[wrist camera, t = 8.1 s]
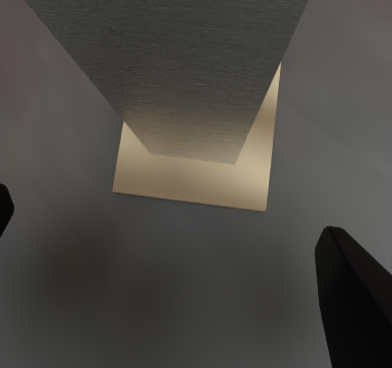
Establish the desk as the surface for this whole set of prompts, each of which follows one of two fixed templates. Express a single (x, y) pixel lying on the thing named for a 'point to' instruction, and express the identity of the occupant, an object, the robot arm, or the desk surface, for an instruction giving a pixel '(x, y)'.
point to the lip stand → (203, 168)
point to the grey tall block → (178, 65)
